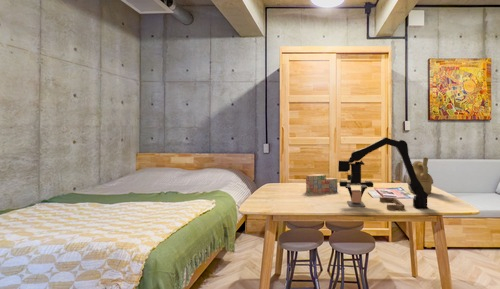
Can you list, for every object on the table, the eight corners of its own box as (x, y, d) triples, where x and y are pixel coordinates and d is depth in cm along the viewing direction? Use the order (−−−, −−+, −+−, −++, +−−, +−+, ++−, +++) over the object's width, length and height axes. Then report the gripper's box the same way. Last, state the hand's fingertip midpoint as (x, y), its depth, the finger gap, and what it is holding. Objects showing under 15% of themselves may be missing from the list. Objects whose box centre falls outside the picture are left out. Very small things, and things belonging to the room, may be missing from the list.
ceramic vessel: (427, 190, 246) (427, 155, 245) (439, 195, 227) (440, 157, 226) (402, 189, 248) (402, 155, 247) (412, 195, 229) (413, 157, 227)
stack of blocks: (333, 190, 250) (333, 173, 250) (337, 191, 244) (337, 174, 244) (305, 191, 246) (305, 174, 245) (309, 193, 239) (309, 175, 239)
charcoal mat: (362, 202, 209) (362, 201, 209) (365, 206, 198) (365, 205, 198) (346, 201, 211) (346, 200, 211) (349, 206, 199) (349, 205, 199)
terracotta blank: (361, 202, 200) (361, 192, 199) (352, 202, 201) (352, 192, 200) (359, 199, 208) (359, 189, 207) (350, 199, 209) (350, 189, 208)
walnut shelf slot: (395, 201, 210) (395, 197, 210) (404, 209, 190) (404, 205, 190) (379, 201, 212) (379, 197, 212) (387, 209, 191) (387, 205, 191)
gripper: (370, 170, 210) (370, 195, 210) (338, 170, 213) (338, 195, 214) (373, 173, 199) (373, 199, 200) (340, 172, 202) (340, 199, 203)
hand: (355, 198), depth 204 cm, fingers closed on terracotta blank, 5 cm apart
